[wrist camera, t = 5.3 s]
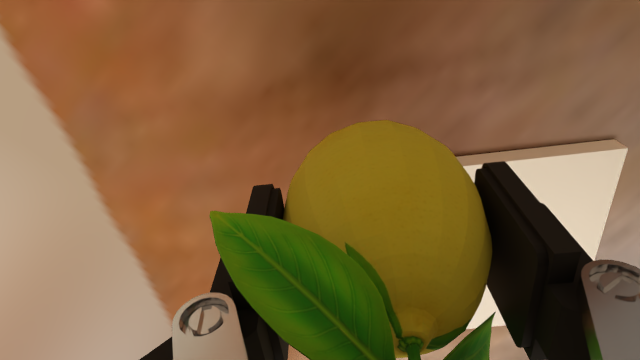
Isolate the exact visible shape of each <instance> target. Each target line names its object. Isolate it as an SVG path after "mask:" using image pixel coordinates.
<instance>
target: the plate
mask: <svg viewBox="0 0 640 360" xmlns="http://www.w3.org/2000/svg"><path fill="white" fill-rule="evenodd" d="M627 150H628V148H627V147H626V146H624V145H622V144H621V143H619V142H618V141H616V140H615V139H612V140H603V141H594V142H585V143H576V144H567V145H557V146H548V147H539V148H530V149H521V150H512V151H503V152H494V153H485V154H476V155H467V156H458V157H456V158H457V159H458V161H459V162H460V163H461V165H462V166H463V167H464V169H465V170H466V171H467V173H468V174H469V176H470V177H471V179H472V181H473V182H475V173H476V170H477V169H480V168H482V165H483V164H484V163H491V162H501V161H505V162H506V163H507V164H508V165H509V166H510V168H511V169H512V170H513V171H514V172H515V173H516V175H517V176H518V177H519V178H520V179H521V181H522V182H523V183H524V184H525V185H526V186H527V188H528V189H529V190H530V191H531V192H532V194H533V195H534V196H535V197H536V198H537V199H538V201H539V202H540V203H543V204H544V205H546V206H547V207H548V209H549V210H550V211H551V212H552V213H553V214H554V215H555V217H556V218H557V219H558V220H559V221H560V222H561V224H562V225H563V226H564V227H565V228H566V229H567V231H568V232H569V233H570V234H571V235H572V236H573V238H574V239H575V240H576V241H577V242H578V243H579V245H580V246H581V247H582V248H583V249H584V250H585V252H586V253H587V254H588V255H589V256H590V257H591V259H592V260H593V261H594V260H595V256H596V253H597V250H598V247H599V243H600V240H601V237H602V233H603V230H604V227H605V223H606V220H607V217H608V213H609V210H610V207H611V203H612V200H613V197H614V193H615V190H616V187H617V183H618V180H619V177H620V173H621V170H622V167H623V164H624V160H625V157H626V154H627ZM494 312H496V313H495V315H494V318H493V321H492V326H491V327H493V326H503V325H506V324H505V322H504V320H503V318H502V316H501V314H500V312H499V310H498V308H497V306H496V303H495V301H494V299H493V297H492V295H491V293H490V291H489V289H488V287H487V285H486V288H485V291H484V294H483V297H482V300H481V303H480V305H479V307H478V309H477V311H476V312H475V314H474V316H473V318H472V320H471V321H470V323H469V325H468V326H467V328H466V329H472V328H477V327H478V326H479V325H481V324H482V323H483V322H484V321H485V320H486V319H488V318H489V317H490V316H491V315H492V314H493V313H494Z"/></svg>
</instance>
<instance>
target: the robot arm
mask: <svg viewBox="0 0 640 360" xmlns="http://www.w3.org/2000/svg"><path fill="white" fill-rule="evenodd" d="M474 184H475V186H476V188H477V191H478V193H479V195H480V198H481V201H482V205H483V209H484V212H485V216H486V220H487V223H488V227H489V230H490V234H491V238H492V258H491V265H490V270H489V275H488V279H487V284H486V285H487V287H488V289H489V291H490V293H491V295H492V297H493V299H494V301H495V303H496V306H497V308H498V310H499V312H500V314H501V316H502V318H503V320H504V322H505V324H506V326H507V328H508V330H509V332H510V334H511V336H512V338H513V340H514V342H515V344H516V346H517V347H519V348H521V347H523V348H524V350H525V352H526V353H527V355H528V357H529V359H530V360H640V269H639V268H637V267H635V266H632V265H630V264H627V263H624V262H620V261H615V260H596V261H593V260H592V259H591V257H590V256H589V255H588V254H587V253H586V252H585V250H584V249H583V248H582V247H581V246H580V245H579V243H578V242H577V241H576V240H575V239H574V238H573V236H572V235H571V234H570V233H569V232H568V231H567V229H566V228H565V227H564V226H563V225H562V224H561V222H560V221H559V220H558V219H557V218H556V217H555V215H554V214H553V213H552V212H551V211H550V210H549V209H548V207H547V206H546V205H544V204H543V203H540V202H539V201H538V199H537V198H536V197H535V196H534V195H533V194H532V192H531V191H530V190H529V189H528V188H527V186H526V185H525V184H524V183H523V182H522V181H521V179H520V178H519V177H518V176H517V175H516V173H515V172H514V171H513V170H512V169H511V168H510V166H509V165H508V164H507V163H506V162H505V161H501V162H491V163H484V164H483V165H482V168H480V169H477V170H476V173H475V182H474ZM283 213H284V204H283V199H282V194H281V190H280V188H276V189H274V186H273V184H268V185H257V186H254V187H253V190H252V193H251V197H250V201H249V205H248V208H247V212H246V214H256V215H263V216H271V217H275V218H278V219H281V220H283ZM288 346H289V344H288V343H287V342H285V341H284V340H283V339H282V338H281V337H280V336H279V335H278V334H277V333H276V332H275V331H274V330H273V329H272V328H271V327H270V326H269V325H268V324H267V323H266V322H265V321H264V320H263V318H262V317H261V316H260V315H259V314H258V313H257V312H256V311H255V310H254V309H253V308H252V307H251V305H250V304H249V303H248V302H247V300H246V299H245V298H244V296H243V295H242V294H241V293H240V291H239V290H238V289H237V288H236V286H235V284H234V282H233V280H232V278H231V276H230V274H229V273H228V271H227V269H226V267H225V265H224V263H223V261H222V259H221V258H220V262H219V265H218V268H217V271H216V274H215V278H214V281H213V284H212V287H211V291H210V293H207V294H202V295H199V296H197V297H195V298H192V299H191V300H189V301H188V302H187V303H185V304H184V305H183V306H182V307H181V308H180V309H179V310H178V311H177V313H176V315H175V316H174V318H173V323H172V337H171V338H169V339H168V340H167V341H165V342H164V343H162V344H161V345H160V346H158V347H157V348H155V349H154V350H152V351H151V352H150V353H149V354H147V355H145V356H144V357H143V358H141V359H140V360H287V359H288Z"/></svg>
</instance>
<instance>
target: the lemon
mask: <svg viewBox="0 0 640 360" xmlns="http://www.w3.org/2000/svg"><path fill="white" fill-rule="evenodd" d="M210 219H211V222H212V227H213V232H214V238H215V243H216V246H217V249H218V251H219V254H220V256H221V259H222V261H223V263H224V265H225V267H226V269H227V271H228V273H229V274H230V276H231V278H232V280H233V282H234V284H235V286H236V288H237V289H238V290H239V291H240V293H241V294H242V295H243V296H244V298H245V299H246V300H247V302H248V303H249V304H250V305H251V307H252V308H253V309H254V310H255V311H256V312H257V313H258V314H259V315H260V316H261V317H262V318H263V320H264V321H265V322H266V323H267V324H268V325H269V326H270V327H271V328H272V329H273V330H274V331H275V332H276V333H277V334H278V335H279V336H280V337H281V338H282V339H283V340H284V341H285V342H287V343H288V344H289V345H291V346H292V347H293V348H295V349H296V350H298V351H299V352H300V353H302V354H303V355H304V356H306V357H307V358H308V359H310V360H396V359H395V358H404V357H408V360H421V357H420V355H422V354H427V353H430V352H432V351H435V350H438V349H440V348H443V347H444V346H446V345H447V344H449V343H450V342H451V341H452V340H454V339H455V338H456V337H457V336H459V335H460V334H461V333H462V332H464V331H465V330H466V328H467V326H468V325H469V323H470V321H471V320H472V318H473V316H474V314H475V312H476V311H477V309H478V307H479V305H480V303H481V300H482V297H483V294H484V291H485V288H486V284H487V279H488V275H489V270H490V265H491V258H492V238H491V234H490V230H489V227H488V223H487V220H486V216H485V212H484V209H483V205H482V201H481V198H480V195H479V193H478V191H477V188H476V186H475V184H474V182H473V181H472V179H471V177H470V176H469V174H468V173H467V171H466V170H465V169H464V167H463V166H462V165H461V163H460V162H459V161H458V159H457V158H456V157H455V155H454V154H453V153H452V152H451V151H450V150H449V149H448V148H447V147H446V146H445V145H443V144H442V143H440V142H439V141H437V140H435V139H434V138H432V137H430V136H429V135H427V134H426V133H424V132H422V131H421V130H419V129H417V128H415V127H411V126H408V125H404V124H400V123H396V122H392V121H389V120H380V121H370V122H360V123H356V124H353V125H351V126H348V127H346V128H343V129H341V130H338V131H335V132H333V133H331V134H330V135H328V136H327V137H326V138H325V139H324V140H322V141H321V142H320V143H319V144H318V145H316V146H315V147H314V148H313V149H312V150H310V152H309V153H308V155H307V156H306V158H305V159H304V161H303V162H302V164H301V166H300V167H299V169H298V170H297V172H296V173H295V175H294V177H293V178H292V181H291V184H290V186H289V190H288V194H287V199H286V204H285V209H284V213H283V220H281V219H278V218H275V217H271V216H263V215H256V214H244V213H223V212H218V211H210ZM495 313H496V312H494V313H493V314H492V315H491V316H490V317H489V318H488V319H486V320H485V321H484V322H483V323H482V324H481V325H479V326H478V327H477V328H476V329H475V330H473V331H472V332H471V333H470V334H469V335H467V336H466V337H465V338H464V339H463V340H462V341H461V342H460V343H459V344H458V345H457V346H456V347H455V348H454V349H453V350H452V351H451V352H450V353H449V354H448V355H447V356H446V357H445V358H444V359H443V360H489V348H490V337H491V326H492V321H493V318H494V315H495Z"/></svg>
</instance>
